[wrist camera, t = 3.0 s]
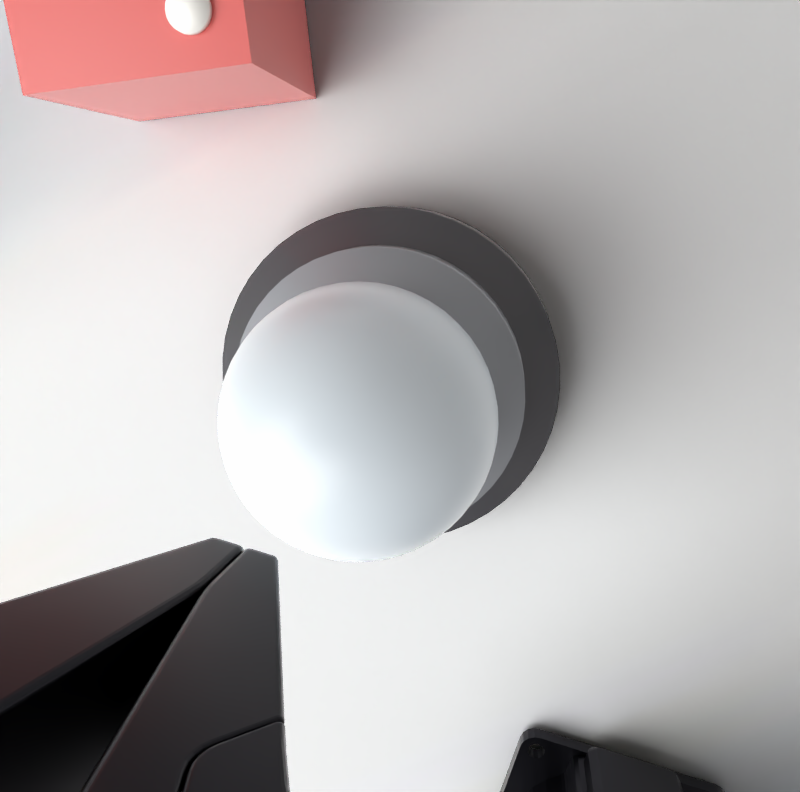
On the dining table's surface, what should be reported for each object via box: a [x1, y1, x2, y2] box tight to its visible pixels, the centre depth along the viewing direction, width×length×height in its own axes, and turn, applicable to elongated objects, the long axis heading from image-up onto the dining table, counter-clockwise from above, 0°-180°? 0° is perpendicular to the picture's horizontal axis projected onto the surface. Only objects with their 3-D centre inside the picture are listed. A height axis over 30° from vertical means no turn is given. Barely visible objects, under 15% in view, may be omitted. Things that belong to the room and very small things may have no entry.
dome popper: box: [217, 245, 525, 562], centre depth 16 cm, size 7×7×6 cm
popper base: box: [223, 207, 560, 533], centre depth 20 cm, size 9×9×2 cm
